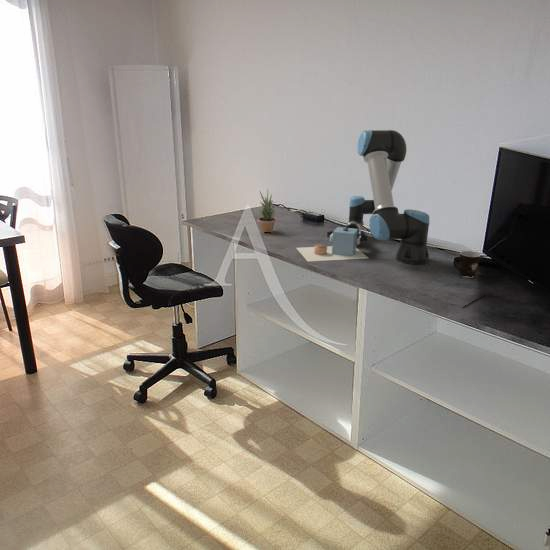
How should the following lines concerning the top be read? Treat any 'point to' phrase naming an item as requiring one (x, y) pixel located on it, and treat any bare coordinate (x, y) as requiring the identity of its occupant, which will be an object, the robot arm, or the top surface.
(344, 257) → the mat
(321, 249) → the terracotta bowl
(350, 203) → the robot arm
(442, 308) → the top surface
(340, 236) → the box cover
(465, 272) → the coffee mug
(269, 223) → the potted plant
